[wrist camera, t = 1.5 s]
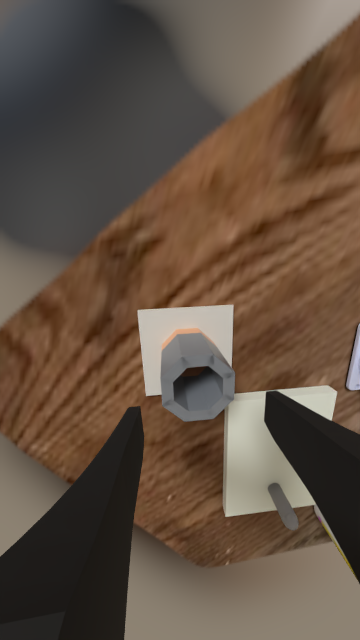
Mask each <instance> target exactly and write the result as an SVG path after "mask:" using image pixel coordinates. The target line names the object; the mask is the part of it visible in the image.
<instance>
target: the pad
mask: <svg viewBox="0 0 360 640" xmlns="http://www.w3.org/2000/svg"><path fill="white" fill-rule="evenodd" d="M138 321H139V330H140V340H141V350H142V360H143V370H144V379H145V389H146V396H151V395H162V392H161V380H160V375H161V352H162V344H163V343H164V342H165V341H166V340H167V339H168V338H169V337H170V335H171V334H172V333H173V332H174V331H175V330H176V329H188V328H198V329H200V330H201V331H202V332H203V333H204V334H205V335H206V336H207V337H209V338H210V339H211V340H212V341H213V342H214V344H215V345H216V346H217V348H218V349H219V351H220V352H221V353H222V355H223V356H224V358H225V359H226V361H227V362H228V363H229V365H230V366H231V368H232V337H233V305H218V306H200V307H182V308H165V309H147V310H138ZM189 368H195V367H189Z"/></svg>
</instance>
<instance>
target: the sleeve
mask: <svg viewBox="0 0 360 640" xmlns="http://www.w3.org/2000/svg"><path fill="white" fill-rule="evenodd" d="M189 367H195V368H189ZM160 380H161V392H162V406H163V407H165V408H166V409H168V410H169V411H170V412H172V413H173V414H175V415H176V416H177V417H179V418H180V419H182V420H183V421H184V422H186V421H196V420H206V419H214V418H215V417H216V416H217V415H218V414H219V413H220V412H221V411H222V410H223V409H224V408H225V407H227V406H228V405H229V404H230V403H231V402H232V401H233V400H234V388H235V372H234V370H233V369H232V368H231V366H230V365H229V363H228V362H227V361H226V359H225V358H224V356H223V355H222V353H221V352H220V351H219V349H218V348H217V346H216V345H215V344H214V342H213V341H212V340H211V339H210V338H209V337H207V336H206V335H205V334H204V333H203V332H202V331H201V330H200V329H198V328H188V329H176V330H175V331H174V332H173V333H172V334H171V335H170V337H169V338H168V339H167V340H166V341H165V342H164V343H163V344H162V352H161V375H160Z"/></svg>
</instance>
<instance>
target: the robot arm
mask: <svg viewBox="0 0 360 640" xmlns="http://www.w3.org/2000/svg"><path fill="white" fill-rule="evenodd" d="M346 387H347V388H348V389H349V390H360V324H359V325H358V329H357V334H356V339H355V344H354V349H353V354H352V359H351V363H350V368H349V373H348V378H347V383H346ZM264 422H265V424H266V426H267V428H268V430H269V432H270V434H271V436H272V437H273V439H274V441H275V442H276V444H277V445H278V447H279V448H280V450H281V451H282V453H283V454H284V456H285V457H286V459H287V460H288V462H289V463H290V465H291V466H292V468H293V469H294V471H295V472H296V473H297V475H298V476H299V478H300V479H301V481H302V482H303V484H304V485H305V487H306V488H307V490H308V492H309V493H310V495H311V496H312V498H313V500H314V501H315V503H316V505H317V507H318V508H319V510H320V512H321V514H322V515H323V517H324V519H325V521H326V522H327V524H328V526H329V528H330V529H331V531H332V533H333V535H334V537H335V539H336V540H337V542H338V544H339V546H340V548H341V549H342V551H343V553H344V555H345V557H346V559H347V561H348V562H349V564H350V566H351V568H352V570H353V572H354V574H355V576H356V578H357V580H358V581H359V583H360V434H357V433H355V432H353V431H351V430H349V429H347V428H345V427H343V426H341V425H339V424H337V423H335V422H333V421H331V420H329V419H327V418H325V417H323V416H322V415H320V414H318V413H316V412H314V411H312V410H311V409H309V408H307V407H305V406H304V405H302V404H300V403H298V402H297V401H295V400H293V399H291V398H289V397H288V396H286V395H284V394H282V393H280V392H278V391H276V390H275V391H266V398H265V412H264ZM143 448H144V432H143V424H142V417H141V409H140V406H137V407H129V408H128V409H127V410H126V412H125V414H124V415H123V417H122V419H121V420H120V422H119V424H118V425H117V427H116V428H115V430H114V431H113V433H112V434H111V436H110V437H109V439H108V440H107V442H106V443H105V444H104V446H103V447H102V449H101V450H100V451H99V453H98V454H97V455H96V457H95V458H94V459H93V461H92V462H91V463H90V464H89V466H88V467H87V468H86V469H85V471H84V472H83V473H82V474H81V475H80V477H79V478H78V479H77V480H76V481H75V482H74V484H73V485H72V486H71V487H70V488H69V489H68V490H67V491H66V492H65V493H64V495H63V496H62V497H61V498H60V499H59V500H58V501H57V502H56V503H55V504H54V506H53V507H52V508H51V509H50V510H49V511H48V512H47V513H46V514H45V515H44V516H43V517H42V518H41V519H40V520H39V521H38V522H36V523H35V524H34V525H33V526H32V527H31V528H30V529H29V530H28V531H27V532H26V533H25V534H24V535H23V536H22V537H21V538H20V539H19V540H18V541H17V542H16V543H15V544H14V545H13V546H11V547H10V548H9V549H8V550H7V551H6V552H5V553H4V554H3V555H2V556H1V557H0V640H124V633H125V618H126V603H127V590H128V577H129V564H130V552H131V540H132V528H133V520H134V512H135V506H136V499H137V493H138V486H139V480H140V474H141V467H142V460H143Z"/></svg>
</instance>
